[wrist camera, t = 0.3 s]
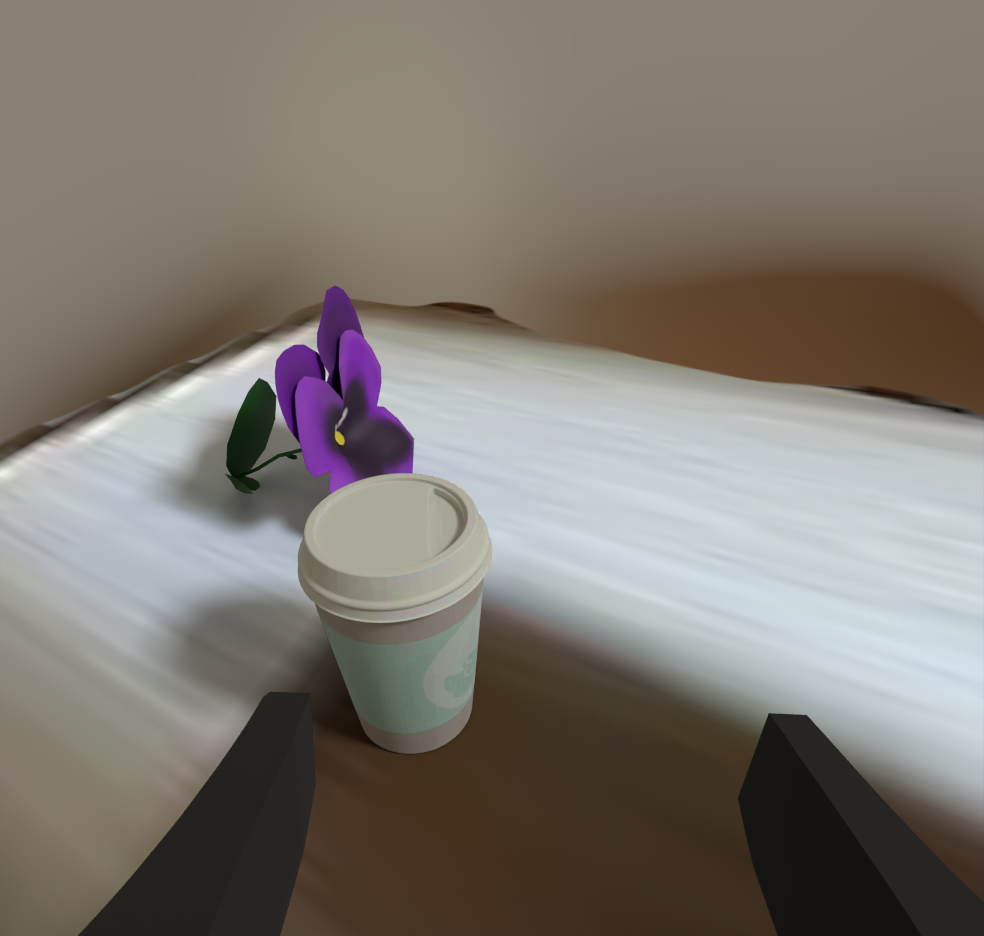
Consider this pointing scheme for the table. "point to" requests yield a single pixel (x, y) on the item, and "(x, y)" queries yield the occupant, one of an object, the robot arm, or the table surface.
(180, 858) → the robot arm
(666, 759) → the table surface
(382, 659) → the coffee cup
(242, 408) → the flower
